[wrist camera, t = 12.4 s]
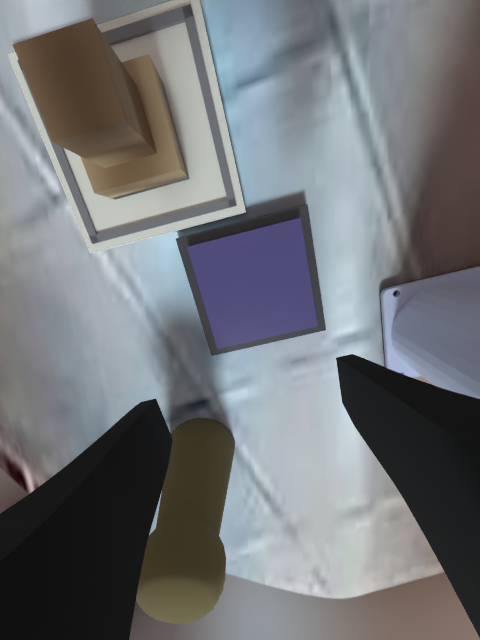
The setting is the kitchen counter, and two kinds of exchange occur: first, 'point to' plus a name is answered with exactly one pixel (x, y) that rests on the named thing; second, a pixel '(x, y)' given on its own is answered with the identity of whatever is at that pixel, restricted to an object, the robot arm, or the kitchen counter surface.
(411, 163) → the kitchen counter surface
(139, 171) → the stamp
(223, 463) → the cork
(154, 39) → the board
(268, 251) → the ink pad
